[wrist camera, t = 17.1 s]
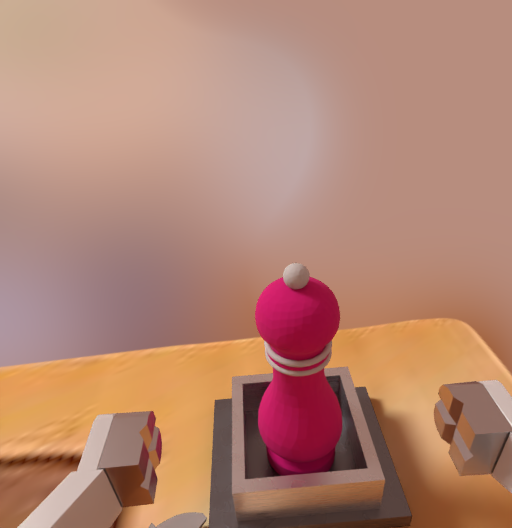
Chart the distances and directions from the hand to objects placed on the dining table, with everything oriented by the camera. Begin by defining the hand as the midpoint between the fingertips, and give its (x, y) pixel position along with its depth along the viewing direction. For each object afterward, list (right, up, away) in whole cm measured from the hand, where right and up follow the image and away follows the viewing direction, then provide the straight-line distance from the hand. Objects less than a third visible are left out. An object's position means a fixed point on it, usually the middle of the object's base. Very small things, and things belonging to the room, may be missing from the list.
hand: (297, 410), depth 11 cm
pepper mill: (+3, -13, +26) cm, 29 cm away
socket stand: (+3, -14, +26) cm, 30 cm away
